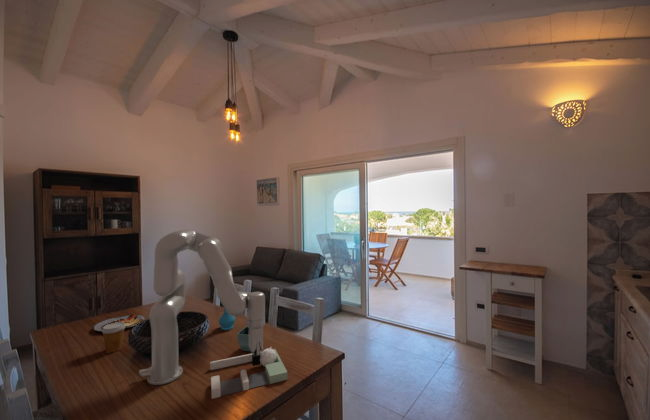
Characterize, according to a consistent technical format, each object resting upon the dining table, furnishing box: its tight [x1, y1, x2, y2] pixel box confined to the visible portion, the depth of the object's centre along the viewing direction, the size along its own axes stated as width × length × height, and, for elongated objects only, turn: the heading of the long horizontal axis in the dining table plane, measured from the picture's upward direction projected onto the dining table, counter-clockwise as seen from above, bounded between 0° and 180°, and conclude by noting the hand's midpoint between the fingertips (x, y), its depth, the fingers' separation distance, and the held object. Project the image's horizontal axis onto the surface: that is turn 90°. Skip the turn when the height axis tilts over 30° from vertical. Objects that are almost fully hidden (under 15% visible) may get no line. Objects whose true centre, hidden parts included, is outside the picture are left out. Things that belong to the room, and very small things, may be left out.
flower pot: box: [237, 326, 251, 352], centre depth 137 cm, size 9×9×9 cm
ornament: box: [260, 346, 276, 367], centre depth 123 cm, size 7×7×8 cm
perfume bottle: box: [218, 307, 237, 331], centre depth 164 cm, size 9×9×15 cm
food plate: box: [93, 314, 146, 332], centre depth 168 cm, size 25×23×4 cm
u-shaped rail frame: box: [209, 348, 288, 400], centre depth 116 cm, size 28×21×3 cm
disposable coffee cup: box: [101, 322, 126, 354], centre depth 138 cm, size 10×10×12 cm
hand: (256, 364), depth 122 cm, fingers closed
